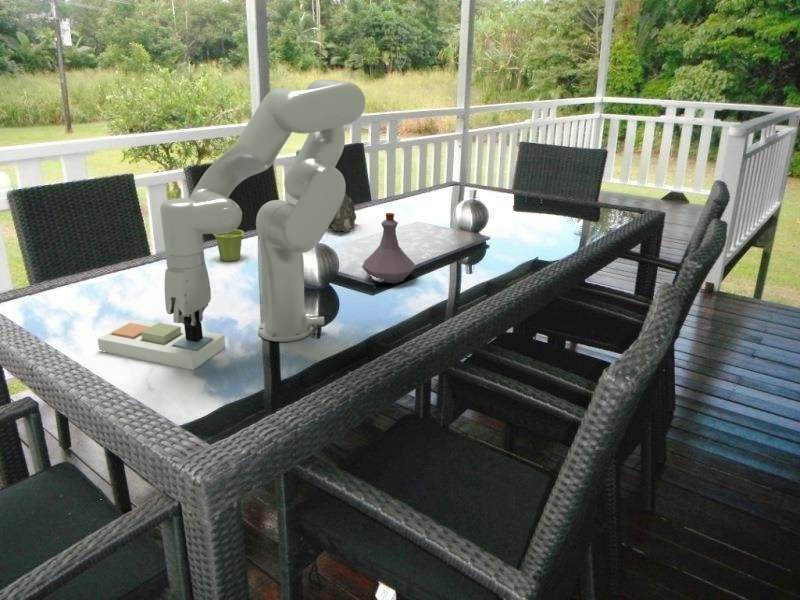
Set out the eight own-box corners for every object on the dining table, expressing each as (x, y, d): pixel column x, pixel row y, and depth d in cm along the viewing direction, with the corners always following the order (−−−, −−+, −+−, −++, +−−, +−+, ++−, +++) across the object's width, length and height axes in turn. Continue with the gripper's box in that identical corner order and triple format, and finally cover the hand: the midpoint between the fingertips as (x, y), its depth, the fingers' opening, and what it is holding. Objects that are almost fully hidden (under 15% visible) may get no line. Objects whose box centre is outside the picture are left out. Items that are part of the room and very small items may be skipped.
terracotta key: (152, 335, 144) (151, 326, 143) (134, 345, 138) (133, 336, 138) (131, 331, 145) (129, 322, 144) (113, 341, 140) (111, 332, 139)
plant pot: (249, 255, 207) (247, 229, 203) (239, 264, 198) (238, 237, 195) (221, 253, 207) (219, 228, 204) (210, 262, 199) (208, 235, 195)
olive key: (181, 335, 141) (180, 326, 140) (164, 345, 136) (163, 336, 135) (159, 331, 142) (158, 322, 142) (142, 341, 137) (141, 332, 137)
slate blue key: (212, 346, 139) (211, 337, 138) (197, 357, 134) (196, 348, 133) (190, 342, 141) (189, 333, 140) (173, 353, 136) (173, 344, 135)
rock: (356, 188, 230) (321, 177, 235) (339, 221, 226) (304, 209, 231) (367, 213, 247) (334, 202, 252) (351, 244, 243) (318, 232, 248)
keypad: (225, 347, 142) (224, 334, 141) (193, 370, 131) (191, 357, 130) (136, 330, 149) (135, 318, 148) (99, 351, 138) (97, 338, 137)
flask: (350, 281, 186) (350, 215, 179) (377, 267, 200) (379, 205, 192) (399, 292, 179) (401, 223, 172) (424, 276, 193) (427, 212, 186)
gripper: (191, 247, 138) (200, 324, 144) (146, 268, 124) (157, 351, 131) (221, 251, 136) (228, 328, 142) (178, 272, 122) (188, 357, 129)
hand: (194, 339), depth 137 cm, fingers closed
